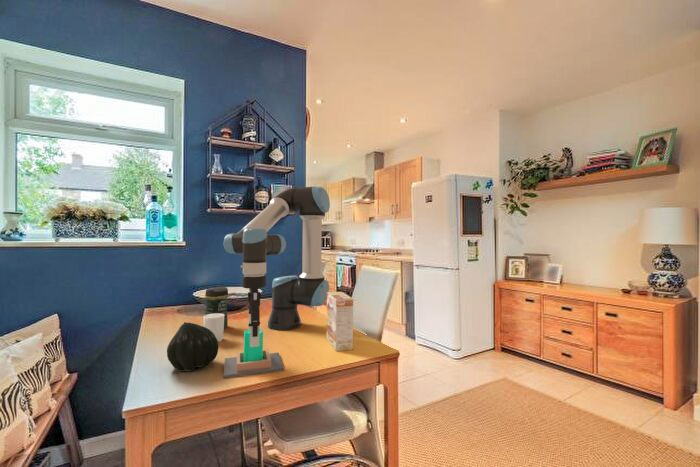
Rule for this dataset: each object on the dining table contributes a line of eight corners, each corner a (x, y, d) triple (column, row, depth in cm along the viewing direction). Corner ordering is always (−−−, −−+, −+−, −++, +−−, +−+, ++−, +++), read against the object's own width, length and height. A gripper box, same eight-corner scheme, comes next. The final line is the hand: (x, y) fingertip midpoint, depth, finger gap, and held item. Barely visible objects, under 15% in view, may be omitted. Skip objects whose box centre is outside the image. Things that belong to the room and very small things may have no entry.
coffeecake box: (325, 339, 136) (326, 292, 136) (342, 337, 138) (342, 291, 138) (335, 351, 122) (335, 299, 122) (353, 349, 124) (354, 298, 124)
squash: (229, 351, 106) (213, 311, 112) (180, 366, 95) (166, 321, 101) (214, 370, 113) (201, 332, 120) (168, 387, 102) (155, 343, 109)
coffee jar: (213, 332, 143) (214, 289, 143) (201, 329, 147) (201, 288, 147) (231, 326, 152) (231, 286, 152) (219, 324, 156) (219, 285, 156)
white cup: (216, 344, 128) (216, 318, 128) (198, 342, 130) (199, 317, 129) (228, 338, 136) (228, 313, 136) (211, 336, 137) (211, 312, 137)
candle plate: (278, 354, 118) (278, 346, 118) (283, 370, 105) (283, 361, 105) (224, 360, 112) (225, 351, 112) (223, 378, 99) (223, 368, 99)
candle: (243, 367, 105) (243, 329, 105) (244, 360, 110) (244, 324, 110) (262, 365, 106) (263, 328, 106) (262, 358, 112) (262, 323, 112)
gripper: (241, 271, 119) (241, 329, 119) (243, 281, 95) (242, 354, 95) (263, 270, 121) (262, 327, 121) (269, 280, 98) (268, 351, 98)
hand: (253, 339), depth 108 cm, fingers open, 13 cm apart
